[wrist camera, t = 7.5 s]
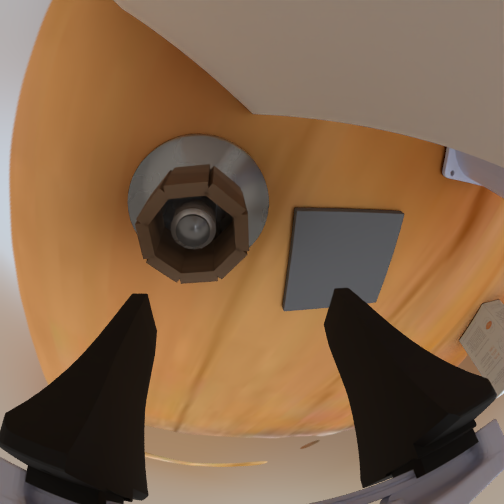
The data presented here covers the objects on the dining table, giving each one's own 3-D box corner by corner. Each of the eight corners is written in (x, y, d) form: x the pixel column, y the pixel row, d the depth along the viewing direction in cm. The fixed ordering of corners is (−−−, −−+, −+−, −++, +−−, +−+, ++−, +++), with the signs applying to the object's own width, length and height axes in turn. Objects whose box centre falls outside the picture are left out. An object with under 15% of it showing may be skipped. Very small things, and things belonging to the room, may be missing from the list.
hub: (270, 133, 16) (285, 145, 12) (262, 257, 21) (272, 295, 17) (125, 139, 15) (99, 153, 11) (142, 261, 20) (129, 298, 16)
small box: (477, 334, 34) (512, 387, 23) (457, 340, 33) (494, 400, 22) (500, 298, 30) (542, 352, 19) (482, 302, 29) (528, 363, 18)
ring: (244, 246, 19) (250, 278, 16) (159, 253, 18) (150, 285, 15) (241, 162, 16) (246, 178, 13) (144, 171, 15) (128, 190, 12)
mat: (400, 210, 20) (404, 214, 19) (373, 298, 24) (375, 302, 24) (294, 207, 19) (296, 211, 18) (282, 306, 23) (283, 311, 23)
